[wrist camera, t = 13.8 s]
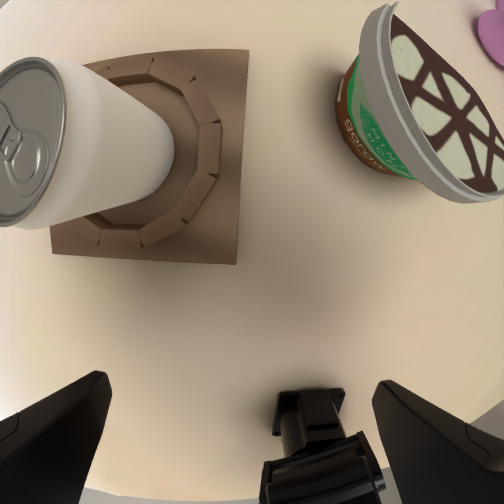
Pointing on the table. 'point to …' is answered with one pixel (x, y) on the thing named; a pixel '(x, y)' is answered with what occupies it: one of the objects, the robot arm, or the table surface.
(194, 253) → the brown ring stand base
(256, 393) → the table surface
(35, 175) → the can
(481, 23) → the container set
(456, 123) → the food container
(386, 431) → the robot arm
